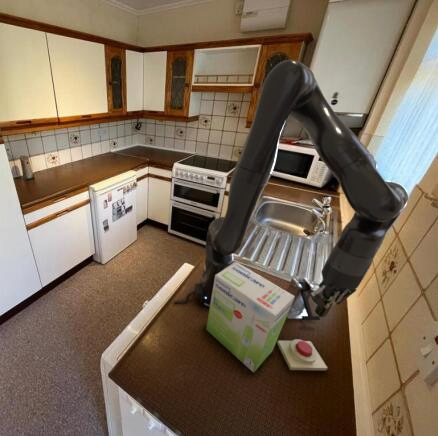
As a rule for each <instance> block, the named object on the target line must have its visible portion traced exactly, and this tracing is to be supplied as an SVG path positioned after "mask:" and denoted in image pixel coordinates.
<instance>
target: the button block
mask: <svg viewBox="0 0 438 436" xmlns="http://www.w3.org/2000/svg"><path fill="white" fill-rule="evenodd" d="M300 341H304V342H306V343H308V344H309V345H310V346H311V347H312V353H311V354H310V356H308V357H305V356H302V355H301V354H300V353H299V352H298V351H297V349H296V346H297V344H298V342H300ZM276 344H277V346H278V349H279V350H280V352H281V355H282V356H283V359H284V361H285V363H286V364H287V366H288V369H289V370H290V371H327V370H328V366H327V365H326V363H325V361H324V360H323V358H322V356H321V355H320V353H319V352H318V351H317V349H316V347H315V346H314V344H313V343H312V341H311V340H302V339H293V340H277V341H276Z"/></svg>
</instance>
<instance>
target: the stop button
mask: <svg viewBox="0 0 438 436" xmlns="http://www.w3.org/2000/svg"><path fill="white" fill-rule="evenodd" d="M304 341H305V340H303V341H300V342H298V344H297V346H296V349H297V351H298V352H299V353H300V354H301V355H302V356H305V357H308V356H310V354H311V353H312V347H311V346H310V345H309V344H308V343H306V342H304Z"/></svg>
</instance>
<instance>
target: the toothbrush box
mask: <svg viewBox="0 0 438 436" xmlns="http://www.w3.org/2000/svg"><path fill="white" fill-rule="evenodd" d="M294 297H295V296H294V295H292V294H290V293H288V292H287V290H284V289H283V288H281V287H280V286H278V285H276V284H275V283H273V282H271V281H270V280H269V279H266V278H265V277H263V276H262V275H259V274H258V273H256V272H255V271H254V270H251V269H249V268H248V267H246V266H244V265H242V264H241V263H239V262H238V261H234V263H233V264H231V265H230V266H228V267H227V268H225V269H224V270H222V271H221V272H219V273H218V274H216V275H215V279H214V286H213V291H212V297H211V303H210V308H209V310H208V316H207V322H206V328H205V330H206V331H207V332H208V333H209V334H210V335H212V336H213V338H215V339H216V340H217V341H218V342H219V343H220V344H221V345H223V347H224V348H226V349H227V350H228V351H229V352H230V353H231V354H232V355H233V356H234V357H236V358H237V359H238V360H239V361H240V362H241V363H242V364H243V365H244V366H245V367H246V368H248V369H249V370H250V371H251V372H252V373H253V374H254V373H255V372H256V371H257V370H258V369H259V367H260V366H261V365H262V364H263V363H264V362H265V361H266V359H268V357H269V356H270V355H271V353H273V351H274V348H275V346H276V344H277V342H278V339H279V336H280V334H281V331H282V329H283V326H284V325H285V322H286V319H287V315H288V312H289V310H290V307H291V305H292V302H293V300H294Z"/></svg>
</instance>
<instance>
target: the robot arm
mask: <svg viewBox="0 0 438 436" xmlns="http://www.w3.org/2000/svg"><path fill="white" fill-rule="evenodd" d="M315 77H316V76H315V75H314V72H313V71H312V69H310V68H309V67H308V66H306V65H305V64H303V62H300V61H299V60H295V59H286V60H283V61H281V62H279V63H278V64H276V65H275V66H274V67H273V68H272V69H271V70H270V71H269V72H268V74H267V76H266V77H265V79H264V81H263V84H262V87H261V90H260V94H259V97H258V101H257V105H256V108H255V112H254V115H253V120H252V123H251V126H250V128H249V131H248V133H247V136H246V138H245V141H244V144H243V147H242V149H241V152H240V154H239V156H238V159H237V162H236V164H235V166H234V169H233V172H232V175H231V178H230V182H229V189H228V197H227V207H226V212H225V214H224V216H220V217H217V218H215V219H214V220H212V221H211V222H210V223H209V226H208V227H207V228H208V229H207V233H206V241H205V246H204V247H205V251H204V253H205V254H204V255H205V258H204V263H203V264H204V265H203V269H202V273H201V274H200V278H199V283H194V288H193V290H192V291H190V292H189V293H188V294H187V295H186V298H185V300H175V301H174V304H181V305H182V304H186V303H187V302H189V299H190V296H191V295H193V294H194V295H195V298H196V300H199V303H200V305H201V306H205V307H207V308H209V309H210V303H211V297H212V291H213V286H214V279H215V275H216V274H218V273H219V272H221V271H222V270H224V269H225V268H227V267H228V266H230V265H231V264H233V263H234V262H235V256H234V254H235V253H236V252H238V251H239V249H240V248H241V247H242V245H243V243H244V240H245V238H246V235H247V231H248V228H249V225H250V222H251V219H252V216H253V214H254V213H255V210H256V208H257V206H258V204H259V201H260V199H261V197H262V194H263V192H264V190H265V188H266V187H267V185H268V182H269V180H270V178H271V176H272V173H273V171H274V169H275V166H276V163H277V162H276V161H277V157H278V152H279V151H278V149H279V143H280V138H281V134H282V131H283V129H284V126H285V125H286V123H287V120H288V118H289V116H290V115H291V116H292V117H293V119H295V120H296V121H297V122H298V123H299V124H300V125H301V127H302V128H303V130H304V131H305V132H306V134H307V137H309V140H310V141H311V143H312V145H313V148H314V150H315V151H316V153H317V155H318V156H319V158H320V160H321V161H322V163H324V165H325V166H326V167H327V169H328V170H329V171H330V173H331V174H332V175H333V176H334V177H335V179H336V180H337V181H338V183H339V185H340V188H341V190H342V193H343V195H344V196H345V199H346V201H347V203H348V205H349V206H350V207H351V210H353V211H354V213H353V215H352V217H351V219H350V220H349V222H347V223H346V224H345V226H344V227H343V229H342V231H341V232H340V234H339V237H338V238H337V240H336V243H335V245H334V246H333V247H332V249H331V250H330V253H329V254H328V256H327V259H326V261H325V263H324V265H323V266H322V269H321V273H320V274H321V277H322V281H321V282H320V283H319V285H318V288H317V289H310V290H309V294H310V297H311V300H312V302H314V303H315V304H316V305H317V306H316V308H315V310H314V312H315V314H316V315H317V316H319V317H320V318H324V317H327V316H328V314H329V312H330V310H331V308H334V307H335V305H340V304H342V303H343V302H344V301H346V300H347V299H348V298H349V297H351V295H353V294H354V293H356V291H357V288H359V287H360V285H361V283H362V282H363V280H364V278H365V276H366V275H367V273H368V271H369V269H370V268H371V266H372V264H373V261H374V259H375V257H376V255H377V253H378V251H379V250H380V248H381V246H382V245H383V243H384V240H385V238H386V236H387V233H388V231H390V229H391V227H392V226H393V225H394V223H395V222H396V220H397V219H398V218H399V216H400V215H401V213H402V212H403V210H404V209H405V207H406V206H407V204H408V201H409V192H408V191H407V189H406V188H405V187H404V186H403V185H402V184H400V183H399V182H396V181H391V180H385V178H383V176H382V175H381V174H380V171H379V170H378V162H377V161H376V159H375V157H374V156H373V154H372V153H371V151H369V149H368V148H367V147H366V146H365V145H364V144H363V142H362V141H361V140H360V139H359V138H358V136H357V135H356V134H355V133H354V132H353V131H352V130H351V129H350V128H349V126H347V124H346V123H345V122H344V121H343V120H342V119H341V118H340V117H339V116H338V115H337V113H336V112H335V111H334V109H333V108H332V107H331V105H330V103H329V101H328V100H327V99H326V97H325V96H324V94H323V92H322V90H321V88H320V86H319V84H318V82H317V80H316V78H315Z"/></svg>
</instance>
